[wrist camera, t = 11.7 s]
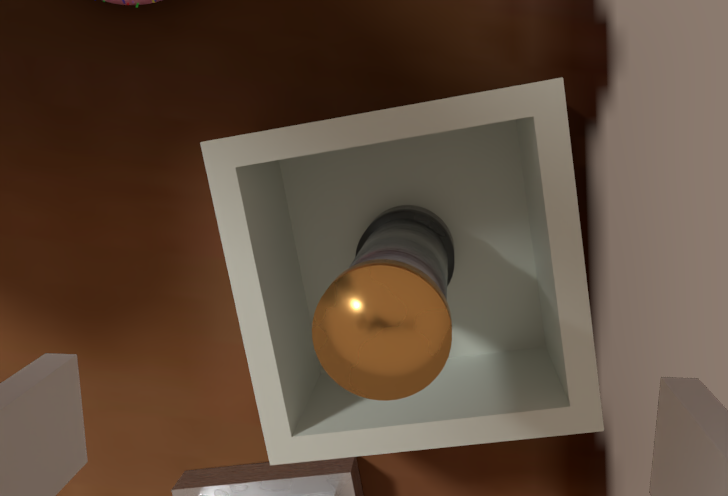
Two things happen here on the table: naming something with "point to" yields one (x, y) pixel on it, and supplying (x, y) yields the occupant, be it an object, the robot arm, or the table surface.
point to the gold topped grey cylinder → (389, 308)
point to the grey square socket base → (274, 480)
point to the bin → (464, 293)
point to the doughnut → (132, 2)
